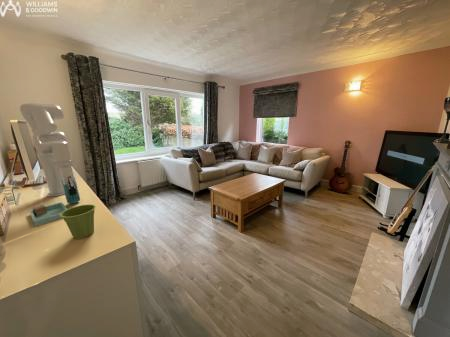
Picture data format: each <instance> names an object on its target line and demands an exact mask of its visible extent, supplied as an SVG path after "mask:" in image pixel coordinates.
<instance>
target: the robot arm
mask: <svg viewBox="0 0 450 337" xmlns="http://www.w3.org/2000/svg"><path fill="white" fill-rule="evenodd" d="M19 110H20V114H21V116H22V117H23V119H24V120H25V121H26V122H27V124H28V125H29V126H30V129H31V132H32V142H33V145H34V148H35V150H36V156H37V157H36V158H37V159H38V161H39V162H40V166H41V169H42V171H43V173H44V178H45V182H46V184H47V187H48V191H49V192H47V194H46V195H47V197H49V198H50V197H59V196H64V195H65V194H64V193H65V192H64V188H63V184H64V185H66V184H67V185H68V188H69V189H68V190H69V194H70V196H71V195H75V194H77V192H76V188H75V185H74V183H75V181H76V178H75V179H74V177H75V176H74V172H73V168H72V167H73V166H74V163H73V153H72V150H71V146H70V143H69V141H68V138H67V136H66V135H65V133H64V132H62V131H57V129H58V125H57V123H56V121H55V120H62V119H64V111H63V109H62V107H60V106H59V105H57V104H53V103H52V104H51V103H23V104H21V105H20V107H19ZM61 180H62V181H63V184H62V181H61ZM73 181H74V182H73ZM69 182H70V183H69ZM68 183H69V184H68ZM69 185H70V186H69Z"/></svg>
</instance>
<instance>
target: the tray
mask: <svg viewBox="0 0 450 337" xmlns="http://www.w3.org/2000/svg"><path fill="white" fill-rule="evenodd" d="M44 206H45V207H46V211H47V213H46V214H43V215H40V216H36V215H34V212H33V209H30V210H29V214H30V217H31V218H32V219H31V220H32V222H33V225H34V227H38V226H41V225H44V224H47V223H51V222H53V221H56V220H60V219H63V217H61V216H60V214H61V213H62V212H63V211H65V210H67V209H68V207H66V206H65V204H64V203H63V202H62V201H61V202H56V203H53V204H48V205H44Z"/></svg>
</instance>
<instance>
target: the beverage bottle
mask: <svg viewBox="0 0 450 337" xmlns="http://www.w3.org/2000/svg"><path fill="white" fill-rule="evenodd" d="M74 179H75V183H74V185H75V188H76V192H77V194H75V195H71V196H70V194H69V190H68V189H69V188H68V185H67V184H66V185H64V184H63V181H62V180H61V181H62V184H63V188H64V192H65V193H64V195H65V199H66V203H67V204H74V203H78V202H80V201H81V196H80V193H79V189H78V184H77V181H76V178H75V176H74ZM73 182H74V181H73ZM69 183H70V182H69ZM69 183H68V184H69ZM69 186H70V185H69Z"/></svg>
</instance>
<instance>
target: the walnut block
mask: <svg viewBox="0 0 450 337" xmlns="http://www.w3.org/2000/svg"><path fill="white" fill-rule="evenodd" d="M45 206H46V205H43V204H40V205H38V206H34V207H32V210H33V212H34V215H36V216H40V215H43V214H46V213H47V211H46V207H45Z"/></svg>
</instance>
